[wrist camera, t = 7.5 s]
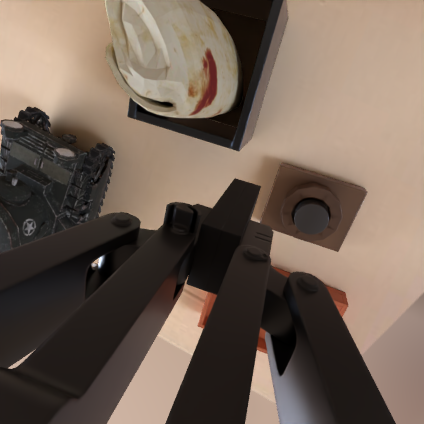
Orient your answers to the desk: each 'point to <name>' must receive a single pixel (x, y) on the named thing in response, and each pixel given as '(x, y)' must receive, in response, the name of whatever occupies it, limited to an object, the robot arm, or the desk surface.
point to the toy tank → (47, 180)
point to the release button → (311, 216)
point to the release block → (319, 190)
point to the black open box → (239, 136)
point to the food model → (174, 57)
